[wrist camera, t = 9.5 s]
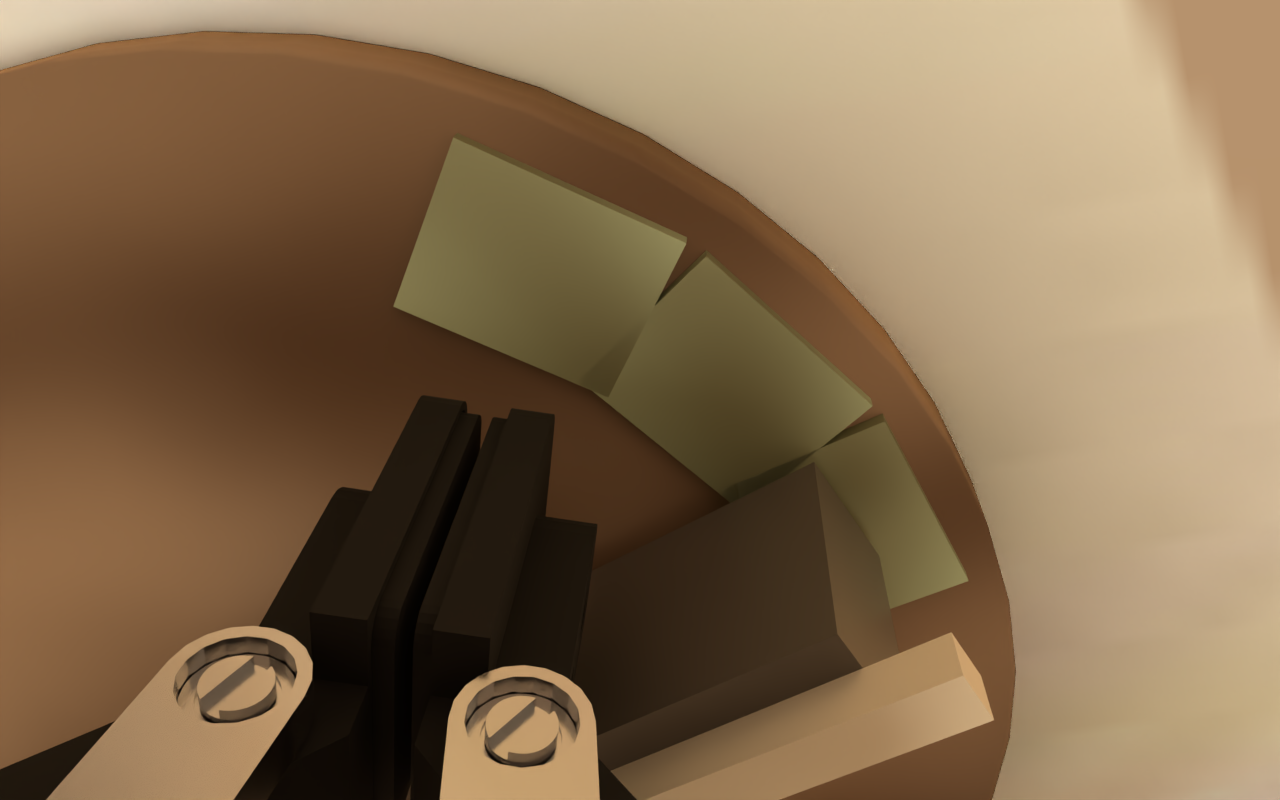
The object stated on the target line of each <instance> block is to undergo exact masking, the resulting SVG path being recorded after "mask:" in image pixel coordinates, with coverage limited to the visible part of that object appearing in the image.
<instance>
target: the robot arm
mask: <svg viewBox="0 0 1280 800" xmlns="http://www.w3.org/2000/svg"><path fill="white" fill-rule="evenodd" d="M481 423H482V420H481V415H478V414H471V413H467V403H466V401H461V400H454V399H447V398H440V397H433V396H426V395H422V396H421V397H420V398H419V400H418V402H417V404H416V405H415V407H414V409H413V411H412V413H411V415H410V417H409V419H408V421H407V423H406V425H405V427H404V429H403V431H402V433H401V435H400V437H399V439H398V441H397V442H396V444H395V446H394V448H393V450H392V452H391V454H390V456H389V458H388V460H387V462H386V464H385V466H384V468H383V470H382V472H381V474H380V476H379V477H378V479H377V481H376V483H375V485H374V487H373V489H372V491H368V490H361V489H354V488H347V487H341V488H339V489H337V491H336V492H335V493H334V495H333V496H332V498H331V500H330V501H329V503H328V505H327V507H326V508H325V510H324V512H323V514H322V515H321V517H320V519H319V521H318V523H317V524H316V526H315V528H314V530H313V531H312V533H311V535H310V537H309V538H308V540H307V542H306V544H305V545H304V547H303V549H302V551H301V553H300V554H299V556H298V558H297V560H296V561H295V563H294V565H293V567H292V568H291V570H290V572H289V574H288V575H287V577H286V579H285V581H284V583H283V584H282V586H281V588H280V590H279V591H278V593H277V595H276V597H275V598H274V600H273V602H272V604H271V606H270V607H269V609H268V611H267V613H266V614H265V616H264V618H263V620H262V621H261V623H260V625H259V627H258V626H244V627H231V628H227V629H223V630H220V631H216V632H213V633H209V634H206V635H204V636H203V637H201V638H199V639H197V640H195V641H193V642H191V643H189V644H187V645H186V646H185V647H183V648H182V649H181V650H180V651H179V652H178V653H176V654H175V655H174V656H173V657H172V658H171V659H170V660H169V661H168V662H167V663H166V664H165V665H164V666H163V667H162V669H161V670H160V671H159V672H158V673H157V674H156V675H155V677H154V678H153V679H152V680H151V681H150V682H149V683H148V684H147V686H146V687H145V688H144V689H143V690H142V691H141V692H140V694H139V695H138V696H137V697H136V698H135V699H134V700H133V702H132V703H131V704H130V705H129V706H128V707H127V708H126V709H125V711H124V712H123V713H122V714H121V715H120V716H119V717H118V719H117V720H116V721H114V722H112V723H109V724H107V725H104V726H102V727H100V728H97V729H95V730H92V731H90V732H88V733H85V734H83V735H81V736H78V737H76V738H73V739H71V740H69V741H66V742H64V743H61V744H59V745H57V746H54V747H52V748H50V749H47V750H45V751H42V752H40V753H38V754H35V755H33V756H30V757H28V758H26V759H23V760H21V761H19V762H16V763H14V764H11V765H9V766H7V767H4V768H2V769H0V800H406V798H407V795H408V792H409V789H410V785H411V789H410V800H637V799H636V798H635V797H634V796H633V795H632V794H631V793H630V792H629V791H628V790H627V788H626V787H625V786H624V785H623V784H622V783H621V782H620V781H619V780H618V779H617V778H616V777H615V776H614V774H613V773H612V772H611V771H610V770H609V769H608V768H607V767H606V766H605V765H604V764H603V763H602V761H601V760H600V759H599V758H598V755H597V735H596V720H595V716H594V712H593V708H592V704H591V703H590V701H589V700H588V698H587V697H586V695H585V694H584V692H583V691H582V690H581V688H579V687H578V686H577V685H576V684H574V679H575V674H576V668H577V662H578V656H579V650H580V644H581V639H582V633H583V627H584V620H585V614H586V607H587V601H588V594H589V587H590V580H591V573H592V565H593V558H594V550H595V543H596V535H597V524H594V523H587V522H580V521H573V520H566V519H559V518H553V517H546V507H547V496H548V486H549V476H550V466H551V456H552V446H553V436H554V425H555V415H554V414H549V413H543V412H536V411H529V410H522V409H515V408H512V409H511V410H510V413H509V415H508V418H507V419H505V418H498V417H493V418H492V420H491V423H490V425H489V428H488V431H487V433H486V436H485V439H484V441H483V444H482V447H481V449H480V443H481Z"/></svg>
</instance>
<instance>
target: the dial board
mask: <svg viewBox="0 0 1280 800" xmlns="http://www.w3.org/2000/svg"><path fill="white" fill-rule="evenodd" d="M422 395H426V396H433V397H440V398H447V399H454V400H461V401H466V403H467V413H471V414H478V415H481V420H482V423H481V443H480V449H481V447H482V444H483V441H484V439H485V436H486V433H487V431H488V428H489V425H490V423H491V420H492V418H493V417H498V418H505V419H507V418H508V415H509V413H510V410H511V409H512V408H515V409H522V410H529V411H536V412H543V413H549V414H554V415H555V425H554V436H553V446H552V456H551V466H550V476H549V486H548V496H547V507H546V517H553V518H559V519H566V520H573V521H580V522H587V523H594V524H597V535H596V543H595V550H594V558H593V565H592V571H593V570H595V569H597V568H599V567H601V566H603V565H605V564H607V563H609V562H611V561H613V560H615V559H617V558H619V557H621V556H623V555H625V554H628V553H630V552H632V551H634V550H636V549H638V548H640V547H642V546H644V545H646V544H648V543H650V542H652V541H654V540H656V539H658V538H660V537H662V536H664V535H666V534H668V533H670V532H672V531H674V530H676V529H678V528H680V527H682V526H685V525H687V524H689V523H691V522H693V521H695V520H697V519H699V518H701V517H703V516H705V515H707V514H709V513H711V512H713V511H715V510H717V509H719V508H721V507H723V506H725V505H727V504H729V503H731V502H733V501H735V500H737V499H740V498H742V497H744V496H746V495H748V494H750V493H752V492H754V491H756V490H758V489H760V488H762V487H764V486H766V485H768V484H770V483H772V482H774V481H776V480H778V479H780V478H782V477H784V476H786V475H788V474H790V473H792V472H795V471H797V470H799V469H801V468H803V467H805V466H807V465H809V464H811V463H813V462H815V464H816V465H817V467H818V468H819V470H820V471H821V472H822V474H823V475H824V477H825V478H826V480H827V481H828V483H829V484H830V485H831V487H832V488H833V490H834V491H835V493H836V494H837V496H838V497H839V498H840V500H841V501H842V503H843V504H844V506H845V507H846V509H847V510H848V511H849V513H850V514H851V516H852V517H853V519H854V520H855V522H856V523H857V524H858V526H859V527H860V529H861V530H862V532H863V533H864V535H865V536H866V537H867V539H868V540H869V542H870V543H871V545H872V546H873V548H874V549H875V550H876V552H877V553H878V555H879V557H880V562H881V567H882V572H883V577H884V582H885V587H886V592H887V596H888V601H889V606H890V611H891V616H892V621H893V626H894V631H895V635H896V640H897V645H898V650H899V653H901V652H904V651H906V650H909V649H911V648H914V647H916V646H919V645H921V644H924V643H926V642H928V641H931V640H933V639H936V638H938V637H941V636H943V635H946V634H948V633H951V632H952V634H953V635H954V637H955V638H956V640H957V641H958V643H959V644H960V646H961V647H962V649H963V650H964V651H965V653H966V654H967V656H968V657H969V659H970V660H971V662H972V663H973V665H974V666H975V668H976V669H977V671H978V672H979V673H980V675H981V677H982V681H983V684H984V687H985V691H986V694H987V698H988V701H989V704H990V708H991V711H992V715H993V718H994V720H993V721H991V722H988V723H985V724H983V725H980V726H977V727H975V728H972V729H969V730H966V731H964V732H961V733H958V734H956V735H953V736H950V737H948V738H945V739H942V740H939V741H937V742H934V743H931V744H929V745H926V746H923V747H921V748H918V749H915V750H912V751H910V752H907V753H904V754H902V755H899V756H896V757H893V758H891V759H888V760H885V761H883V762H880V763H877V764H875V765H872V766H869V767H866V768H864V769H861V770H858V771H856V772H853V773H850V774H848V775H845V776H842V777H839V778H837V779H834V780H831V781H829V782H826V783H823V784H821V785H818V786H815V787H812V788H810V789H807V790H804V791H802V792H799V793H796V794H794V795H791V796H788V797H785V798H783V799H780V800H992V798H993V794H994V791H995V787H996V784H997V780H998V777H999V773H1000V770H1001V766H1002V763H1003V759H1004V756H1005V752H1006V749H1007V745H1008V742H1009V738H1010V728H1011V718H1012V707H1013V696H1014V685H1015V674H1016V670H1015V659H1014V649H1013V638H1012V628H1011V617H1010V607H1009V599H1008V596H1007V592H1006V589H1005V585H1004V582H1003V578H1002V575H1001V571H1000V568H999V564H998V560H997V557H996V553H995V550H994V546H993V543H992V539H991V536H990V532H989V529H988V525H987V523H986V520H985V517H984V514H983V512H982V509H981V506H980V503H979V501H978V498H977V495H976V492H975V490H974V487H973V484H972V482H971V479H970V476H969V474H968V472H967V470H966V468H965V466H964V464H963V462H962V460H961V457H960V455H959V453H958V451H957V449H956V447H955V445H954V443H953V441H952V439H951V436H950V434H949V432H948V430H947V428H946V426H945V424H944V422H943V420H942V418H941V415H940V413H939V411H938V409H937V407H936V405H935V403H934V402H933V400H932V399H931V397H930V396H929V394H928V393H927V391H926V390H925V388H924V387H923V386H922V384H921V383H920V381H919V380H918V378H917V377H916V375H915V374H914V372H913V371H912V369H911V368H910V367H909V365H908V364H907V362H906V361H905V359H904V358H903V356H902V355H901V353H900V352H899V350H898V349H897V348H896V346H895V345H894V343H893V342H892V340H891V339H890V337H889V336H888V334H887V333H886V331H885V330H884V329H883V328H882V327H881V326H880V325H879V324H878V322H877V321H876V320H875V319H874V318H873V317H872V316H871V315H870V314H869V313H868V312H867V311H866V310H865V308H864V307H863V306H862V305H861V304H860V303H859V302H858V301H857V300H856V299H855V298H854V297H853V295H852V294H851V293H850V292H849V291H848V290H847V289H846V288H845V287H844V286H843V285H842V284H841V283H840V281H839V280H838V279H837V278H836V277H835V276H834V275H833V274H832V273H831V272H830V271H829V270H828V268H827V267H826V266H825V265H824V264H823V263H822V262H821V261H820V260H819V259H818V258H817V257H816V256H814V255H813V254H812V253H811V252H810V251H808V250H807V249H806V248H805V247H803V246H802V245H801V244H800V243H799V242H797V241H796V240H795V239H794V238H792V237H791V236H790V235H789V234H788V233H786V232H785V231H784V230H783V229H781V228H780V227H779V226H778V225H777V224H775V223H774V222H773V221H772V220H770V219H769V218H768V217H767V216H766V215H764V214H763V213H762V212H761V211H759V210H758V209H757V208H756V207H755V206H753V205H752V204H751V203H750V202H748V201H747V200H746V199H745V198H744V197H742V196H741V195H740V194H739V193H737V192H736V191H734V190H732V189H731V188H729V187H728V186H726V185H724V184H723V183H721V182H720V181H718V180H716V179H715V178H713V177H711V176H710V175H708V174H707V173H705V172H703V171H702V170H700V169H698V168H697V167H695V166H694V165H692V164H690V163H689V162H687V161H686V160H684V159H682V158H681V157H679V156H677V155H676V154H674V153H673V152H671V151H669V150H668V149H666V148H664V147H663V146H661V145H660V144H658V143H656V142H655V141H653V140H652V139H650V138H648V137H647V136H645V135H643V134H641V133H639V132H636V131H634V130H632V129H630V128H628V127H625V126H623V125H621V124H619V123H617V122H614V121H612V120H610V119H608V118H606V117H603V116H601V115H599V114H597V113H594V112H592V111H590V110H588V109H586V108H583V107H581V106H579V105H577V104H575V103H572V102H570V101H568V100H566V99H564V98H561V97H559V96H557V95H555V94H552V93H550V92H548V91H546V90H544V89H541V88H539V87H535V86H532V85H529V84H526V83H522V82H519V81H516V80H513V79H509V78H506V77H503V76H499V75H496V74H493V73H490V72H486V71H483V70H480V69H477V68H473V67H470V66H467V65H463V64H460V63H457V62H454V61H450V60H447V59H444V58H441V57H437V56H434V55H431V54H426V53H420V52H414V51H408V50H402V49H396V48H391V47H385V46H379V45H373V44H367V43H361V42H355V41H349V40H343V39H337V38H331V37H325V36H319V35H303V34H271V33H239V32H206V31H202V32H194V33H185V34H176V35H167V36H159V37H150V38H141V39H132V40H123V41H115V42H106V43H97V44H94V45H90V46H86V47H83V48H79V49H75V50H72V51H68V52H65V53H61V54H57V55H54V56H50V57H46V58H43V59H39V60H36V61H32V62H28V63H25V64H21V65H17V66H14V67H10V68H7V69H3V70H0V769H2V768H4V767H7V766H9V765H11V764H14V763H16V762H19V761H21V760H23V759H26V758H28V757H30V756H33V755H35V754H38V753H40V752H42V751H45V750H47V749H50V748H52V747H54V746H57V745H59V744H61V743H64V742H66V741H69V740H71V739H73V738H76V737H78V736H81V735H83V734H85V733H88V732H90V731H92V730H95V729H97V728H100V727H102V726H104V725H107V724H109V723H112V722H114V721H116V720H117V719H118V717H119V716H120V715H121V714H122V713H123V712H124V711H125V709H126V708H127V707H128V706H129V705H130V704H131V703H132V702H133V700H134V699H135V698H136V697H137V696H138V695H139V694H140V692H141V691H142V690H143V689H144V688H145V687H146V686H147V684H148V683H149V682H150V681H151V680H152V679H153V678H154V677H155V675H156V674H157V673H158V672H159V671H160V670H161V669H162V667H163V666H164V665H165V664H166V663H167V662H168V661H169V660H170V659H171V658H172V657H173V656H174V655H175V654H176V653H178V652H179V651H180V650H181V649H182V648H183V647H185V646H186V645H187V644H189V643H191V642H193V641H195V640H197V639H199V638H201V637H203V636H204V635H206V634H209V633H213V632H216V631H220V630H223V629H227V628H231V627H244V626H258V627H259V625H260V623H261V621H262V620H263V618H264V616H265V614H266V613H267V611H268V609H269V607H270V606H271V604H272V602H273V600H274V598H275V597H276V595H277V593H278V591H279V590H280V588H281V586H282V584H283V583H284V581H285V579H286V577H287V575H288V574H289V572H290V570H291V568H292V567H293V565H294V563H295V561H296V560H297V558H298V556H299V554H300V553H301V551H302V549H303V547H304V545H305V544H306V542H307V540H308V538H309V537H310V535H311V533H312V531H313V530H314V528H315V526H316V524H317V523H318V521H319V519H320V517H321V515H322V514H323V512H324V510H325V508H326V507H327V505H328V503H329V501H330V500H331V498H332V496H333V495H334V493H335V492H336V491H337V489H339V488H341V487H347V488H354V489H361V490H368V491H372V489H373V487H374V485H375V483H376V481H377V479H378V477H379V476H380V474H381V472H382V470H383V468H384V466H385V464H386V462H387V460H388V458H389V456H390V454H391V452H392V450H393V448H394V446H395V444H396V442H397V441H398V439H399V437H400V435H401V433H402V431H403V429H404V427H405V425H406V423H407V421H408V419H409V417H410V415H411V413H412V411H413V409H414V407H415V405H416V404H417V402H418V400H419V398H420V397H421V396H422Z"/></svg>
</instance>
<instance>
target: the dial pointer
mask: <svg viewBox="0 0 1280 800" xmlns="http://www.w3.org/2000/svg"><path fill="white" fill-rule="evenodd" d="M574 684H576V685H577V686H578V687H579V688H581V690H582V691H583V692H584V694H585V695H586V697H587V698H588V700H589V701H590V703H591V704H592V708H593V712H594V716H595V720H596V735H597V755H598V758H599V759H600V760H601V761H602V763H603V764H604V765H605V766H606V767H607V768H608V769H609V770H610V771H611V772H612V773H613V774H614V776H615V777H616V778H617V779H618V780H619V781H620V782H621V783H622V784H623V785H624V786H625V787H626V788H627V790H628V791H629V792H630V793H631V794H632V795H633V796H634V797H635V798H636V799H637V800H780V799H783V798H785V797H788V796H791V795H794V794H796V793H799V792H802V791H804V790H807V789H810V788H812V787H815V786H818V785H821V784H823V783H826V782H829V781H831V780H834V779H837V778H839V777H842V776H845V775H848V774H850V773H853V772H856V771H858V770H861V769H864V768H866V767H869V766H872V765H875V764H877V763H880V762H883V761H885V760H888V759H891V758H893V757H896V756H899V755H902V754H904V753H907V752H910V751H912V750H915V749H918V748H921V747H923V746H926V745H929V744H931V743H934V742H937V741H939V740H942V739H945V738H948V737H950V736H953V735H956V734H958V733H961V732H964V731H966V730H969V729H972V728H975V727H977V726H980V725H983V724H985V723H988V722H991V721H993V720H994V718H993V715H992V711H991V708H990V704H989V701H988V698H987V694H986V691H985V687H984V684H983V681H982V677H981V675H980V673H979V672H978V671H977V669H976V668H975V666H974V665H973V663H972V662H971V660H970V659H969V657H968V656H967V654H966V653H965V651H964V650H963V649H962V647H961V646H960V644H959V643H958V641H957V640H956V638H955V637H954V635H953V634H952V632H951V633H948V634H946V635H943V636H941V637H938V638H936V639H933V640H931V641H928V642H926V643H924V644H921V645H919V646H916V647H914V648H911V649H909V650H906V651H904V652H901V653H899V650H898V645H897V640H896V635H895V631H894V626H893V621H892V616H891V611H890V606H889V601H888V596H887V592H886V587H885V582H884V577H883V572H882V567H881V562H880V557H879V555H878V553H877V552H876V550H875V549H874V548H873V546H872V545H871V543H870V542H869V540H868V539H867V537H866V536H865V535H864V533H863V532H862V530H861V529H860V527H859V526H858V524H857V523H856V522H855V520H854V519H853V517H852V516H851V514H850V513H849V511H848V510H847V509H846V507H845V506H844V504H843V503H842V501H841V500H840V498H839V497H838V496H837V494H836V493H835V491H834V490H833V488H832V487H831V485H830V484H829V483H828V481H827V480H826V478H825V477H824V475H823V474H822V472H821V471H820V470H819V468H818V467H817V465H816V464H815V462H813V463H811V464H809V465H807V466H805V467H803V468H801V469H799V470H797V471H795V472H792V473H790V474H788V475H786V476H784V477H782V478H780V479H778V480H776V481H774V482H772V483H770V484H768V485H766V486H764V487H762V488H760V489H758V490H756V491H754V492H752V493H750V494H748V495H746V496H744V497H742V498H740V499H737V500H735V501H733V502H731V503H729V504H727V505H725V506H723V507H721V508H719V509H717V510H715V511H713V512H711V513H709V514H707V515H705V516H703V517H701V518H699V519H697V520H695V521H693V522H691V523H689V524H687V525H685V526H682V527H680V528H678V529H676V530H674V531H672V532H670V533H668V534H666V535H664V536H662V537H660V538H658V539H656V540H654V541H652V542H650V543H648V544H646V545H644V546H642V547H640V548H638V549H636V550H634V551H632V552H630V553H628V554H625V555H623V556H621V557H619V558H617V559H615V560H613V561H611V562H609V563H607V564H605V565H603V566H601V567H599V568H597V569H595V570H593V571H592V573H591V580H590V587H589V594H588V601H587V607H586V614H585V620H584V627H583V633H582V639H581V644H580V650H579V656H578V662H577V668H576V674H575V679H574ZM410 789H411V785H410ZM410 789H409V792H408V795H407V798H406V800H410Z"/></svg>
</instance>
